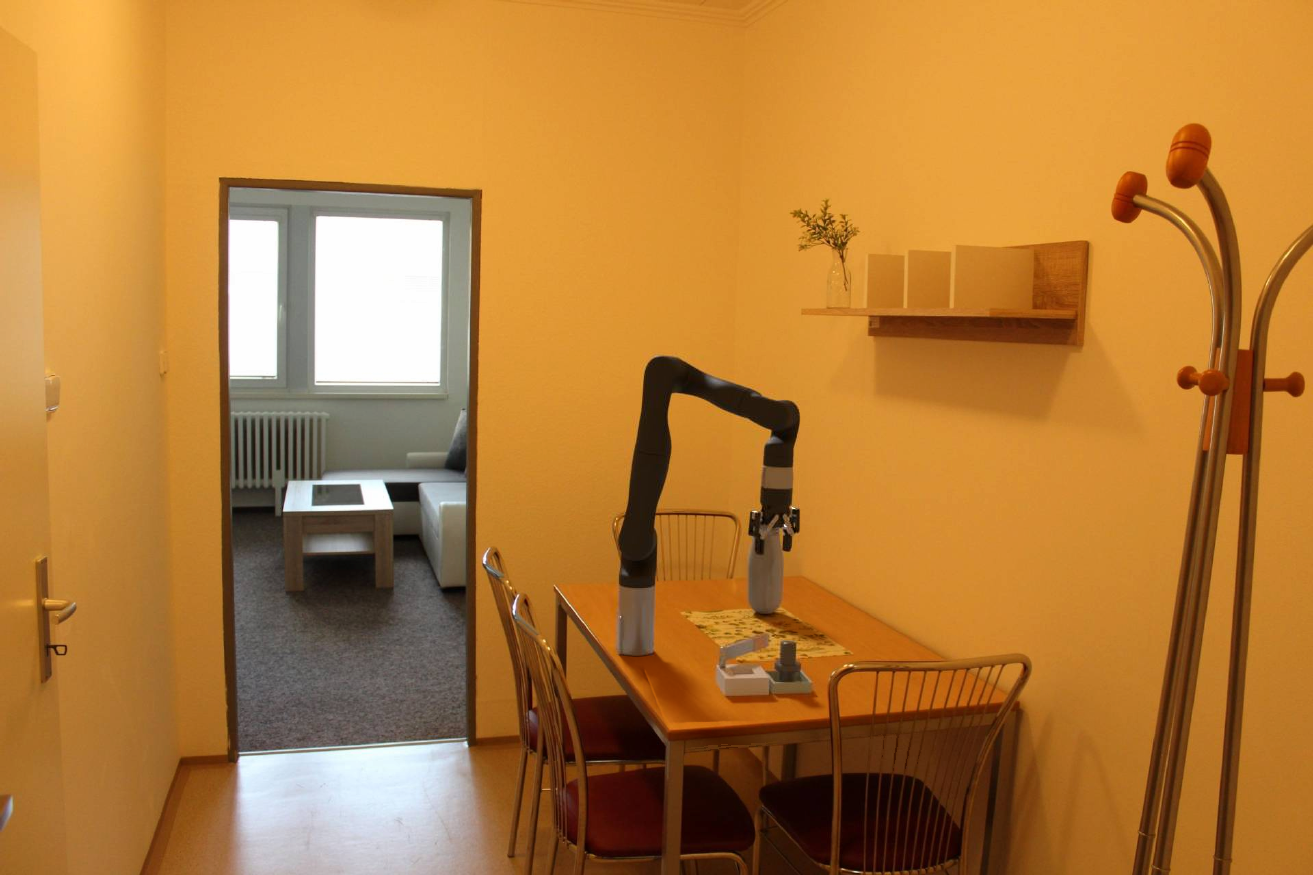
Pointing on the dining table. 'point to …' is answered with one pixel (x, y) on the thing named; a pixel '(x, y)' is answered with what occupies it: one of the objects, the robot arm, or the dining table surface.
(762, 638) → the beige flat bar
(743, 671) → the socket block
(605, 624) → the dining table surface
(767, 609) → the grey bottle
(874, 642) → the dining table surface
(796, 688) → the tray
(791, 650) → the plug
